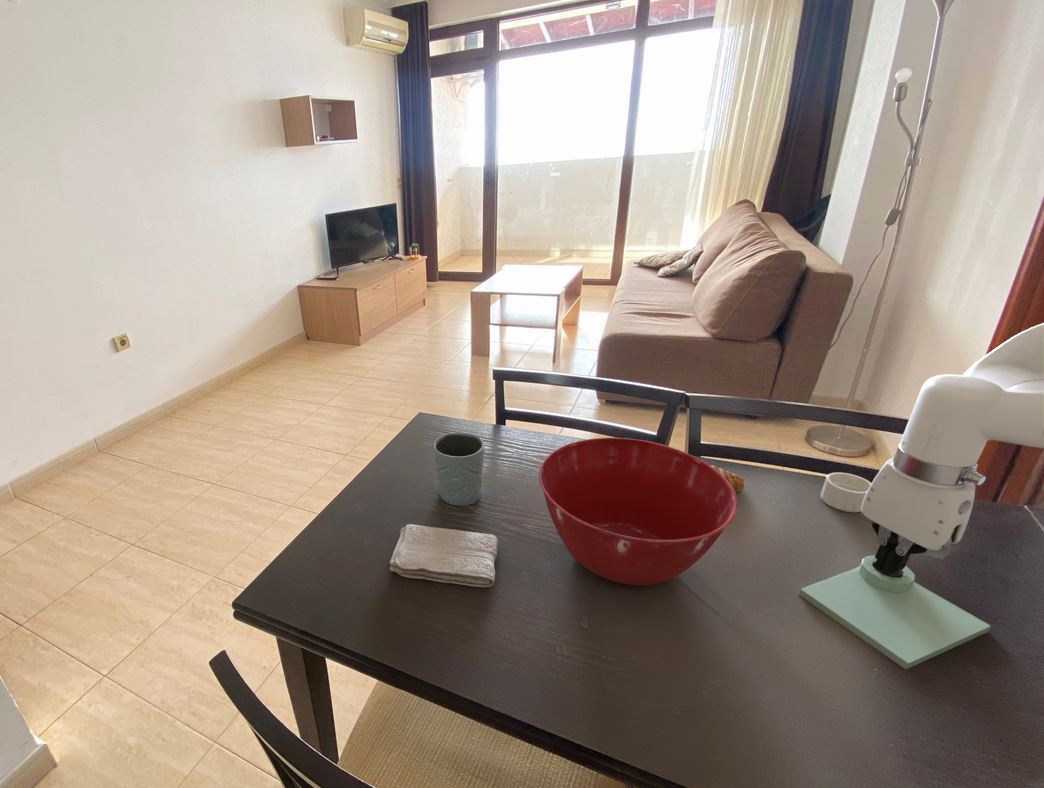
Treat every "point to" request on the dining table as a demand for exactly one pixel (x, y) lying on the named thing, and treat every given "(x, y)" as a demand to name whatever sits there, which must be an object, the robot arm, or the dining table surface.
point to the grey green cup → (459, 467)
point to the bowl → (845, 491)
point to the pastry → (732, 479)
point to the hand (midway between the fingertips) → (887, 567)
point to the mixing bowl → (635, 507)
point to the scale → (894, 613)
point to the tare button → (892, 574)
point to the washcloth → (445, 556)
